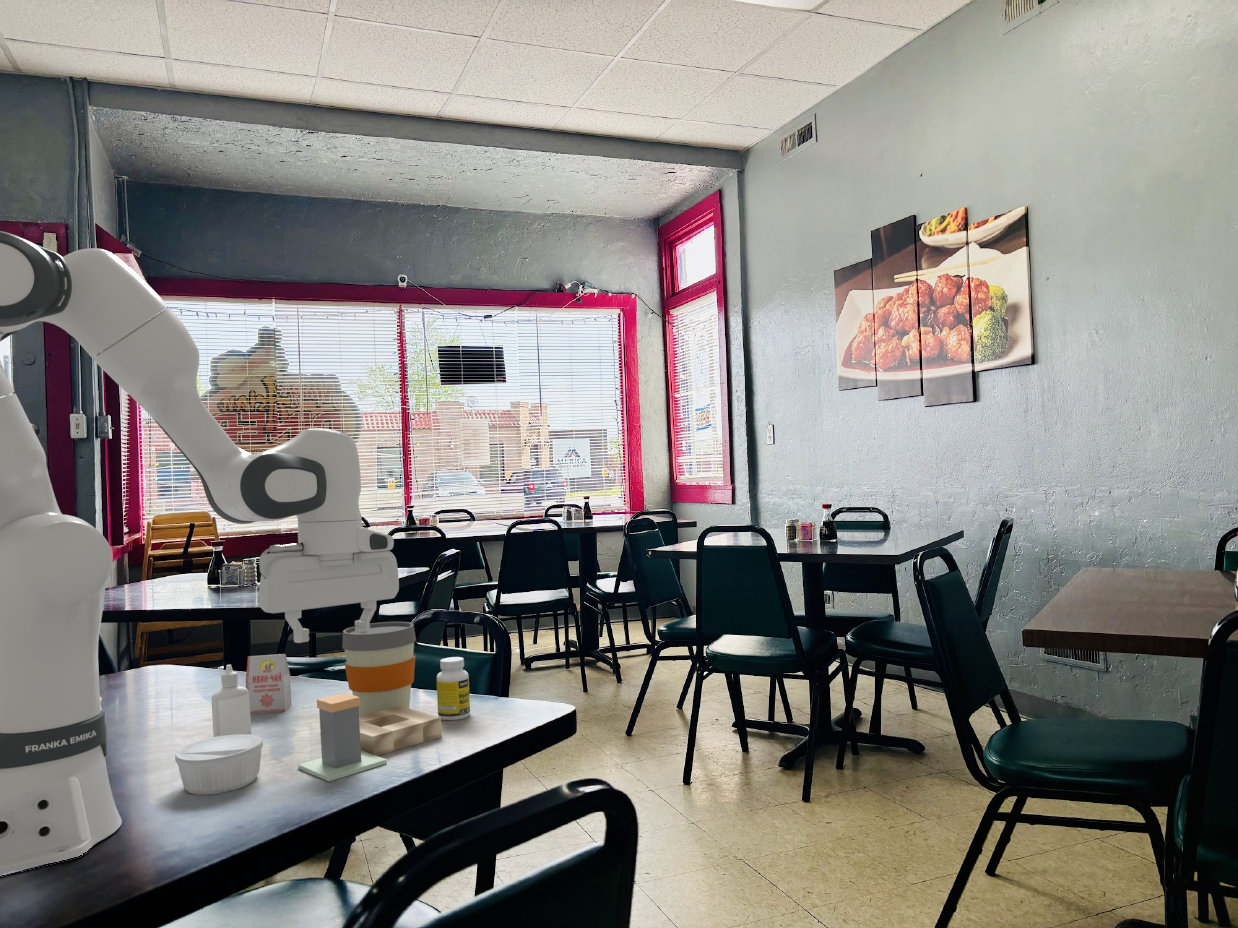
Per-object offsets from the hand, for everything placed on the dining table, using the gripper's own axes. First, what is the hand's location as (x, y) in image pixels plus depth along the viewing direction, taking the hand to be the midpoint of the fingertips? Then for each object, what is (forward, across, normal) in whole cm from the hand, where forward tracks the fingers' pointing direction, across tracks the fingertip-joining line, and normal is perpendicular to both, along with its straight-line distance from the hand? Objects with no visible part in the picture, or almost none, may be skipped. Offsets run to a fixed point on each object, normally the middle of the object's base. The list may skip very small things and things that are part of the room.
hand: (332, 637), depth 129 cm
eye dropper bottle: (+19, -3, +29) cm, 35 cm away
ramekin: (+19, -13, +8) cm, 25 cm away
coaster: (+19, +1, 0) cm, 19 cm away
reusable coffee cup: (+18, +20, +21) cm, 34 cm away
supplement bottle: (+18, +26, +8) cm, 33 cm away
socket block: (+18, +12, +6) cm, 23 cm away
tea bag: (+19, +9, +42) cm, 47 cm away
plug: (+18, +1, 0) cm, 18 cm away
